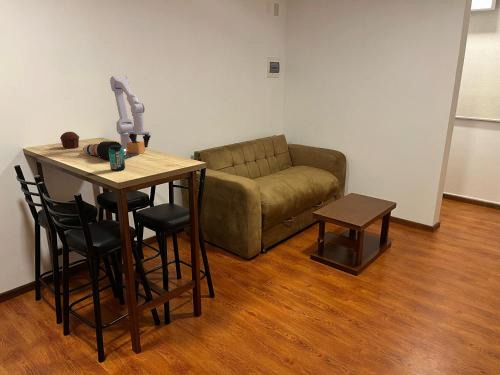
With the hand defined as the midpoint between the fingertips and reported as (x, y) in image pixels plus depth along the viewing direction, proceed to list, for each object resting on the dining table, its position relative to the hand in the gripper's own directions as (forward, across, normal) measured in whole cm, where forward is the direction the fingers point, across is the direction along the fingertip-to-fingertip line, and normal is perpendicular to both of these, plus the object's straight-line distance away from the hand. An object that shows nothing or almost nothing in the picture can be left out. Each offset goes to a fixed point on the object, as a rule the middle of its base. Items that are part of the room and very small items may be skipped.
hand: (140, 146), depth 237 cm
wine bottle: (+4, -17, -17) cm, 24 cm away
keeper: (+3, -3, -13) cm, 14 cm away
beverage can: (+4, +12, -40) cm, 42 cm away
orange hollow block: (+3, -3, 0) cm, 5 cm away
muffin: (+3, -51, -1) cm, 51 cm away
